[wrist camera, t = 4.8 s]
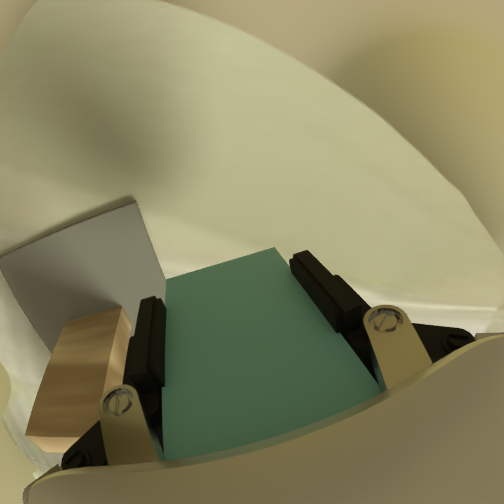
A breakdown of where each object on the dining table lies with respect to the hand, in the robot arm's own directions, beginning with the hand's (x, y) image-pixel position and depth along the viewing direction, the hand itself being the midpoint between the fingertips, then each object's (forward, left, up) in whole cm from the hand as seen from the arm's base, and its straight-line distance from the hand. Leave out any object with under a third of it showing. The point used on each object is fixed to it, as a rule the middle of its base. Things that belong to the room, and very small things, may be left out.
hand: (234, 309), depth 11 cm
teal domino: (0, 0, -3) cm, 3 cm away
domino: (-4, +10, -7) cm, 13 cm away
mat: (-9, +10, -8) cm, 15 cm away
